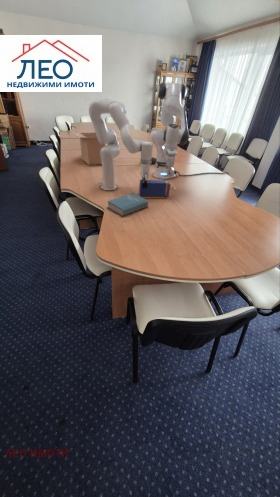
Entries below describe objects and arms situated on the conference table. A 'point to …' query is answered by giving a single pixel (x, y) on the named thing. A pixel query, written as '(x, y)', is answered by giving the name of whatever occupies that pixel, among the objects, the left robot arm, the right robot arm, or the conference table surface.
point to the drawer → (169, 189)
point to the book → (127, 204)
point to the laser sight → (153, 160)
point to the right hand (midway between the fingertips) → (167, 170)
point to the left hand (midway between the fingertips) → (144, 185)
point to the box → (90, 147)
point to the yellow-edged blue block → (153, 189)
